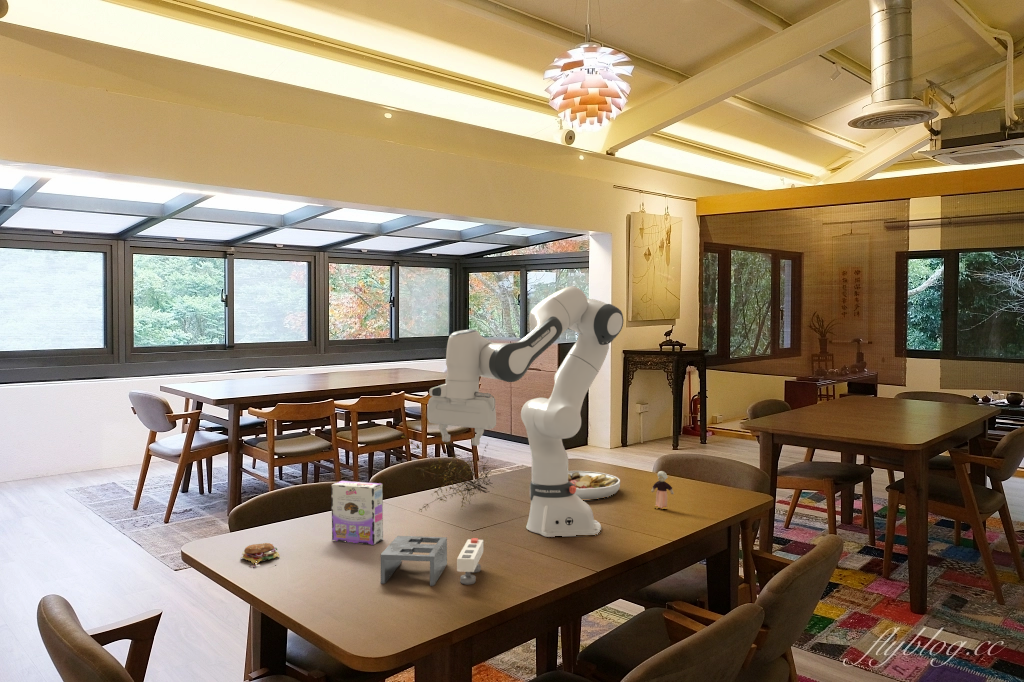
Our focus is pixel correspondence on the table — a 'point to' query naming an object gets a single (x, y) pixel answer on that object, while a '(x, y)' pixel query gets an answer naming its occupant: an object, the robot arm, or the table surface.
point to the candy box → (357, 512)
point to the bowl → (593, 484)
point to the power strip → (470, 560)
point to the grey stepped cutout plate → (414, 555)
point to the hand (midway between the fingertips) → (460, 443)
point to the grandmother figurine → (662, 490)
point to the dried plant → (457, 477)
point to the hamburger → (259, 552)
